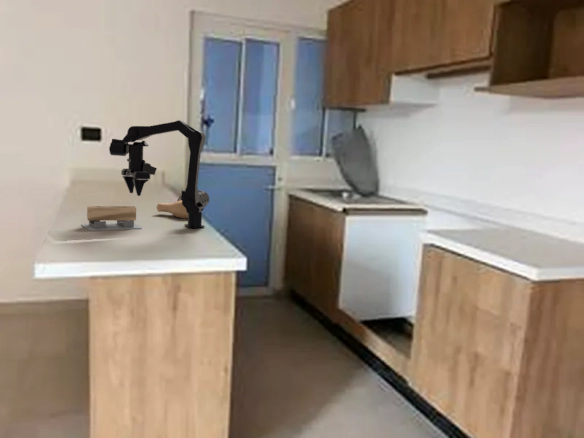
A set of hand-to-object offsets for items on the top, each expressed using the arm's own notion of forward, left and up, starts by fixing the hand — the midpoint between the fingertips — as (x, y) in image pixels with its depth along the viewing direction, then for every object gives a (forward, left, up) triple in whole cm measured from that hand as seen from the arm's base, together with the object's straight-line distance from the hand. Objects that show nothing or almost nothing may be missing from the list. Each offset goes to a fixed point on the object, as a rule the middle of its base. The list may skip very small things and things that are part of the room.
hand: (135, 194), depth 228 cm
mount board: (-8, +12, -12) cm, 19 cm away
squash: (+10, -23, -12) cm, 28 cm away
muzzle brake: (+23, -37, -12) cm, 45 cm away
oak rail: (-8, +12, -9) cm, 17 cm away
